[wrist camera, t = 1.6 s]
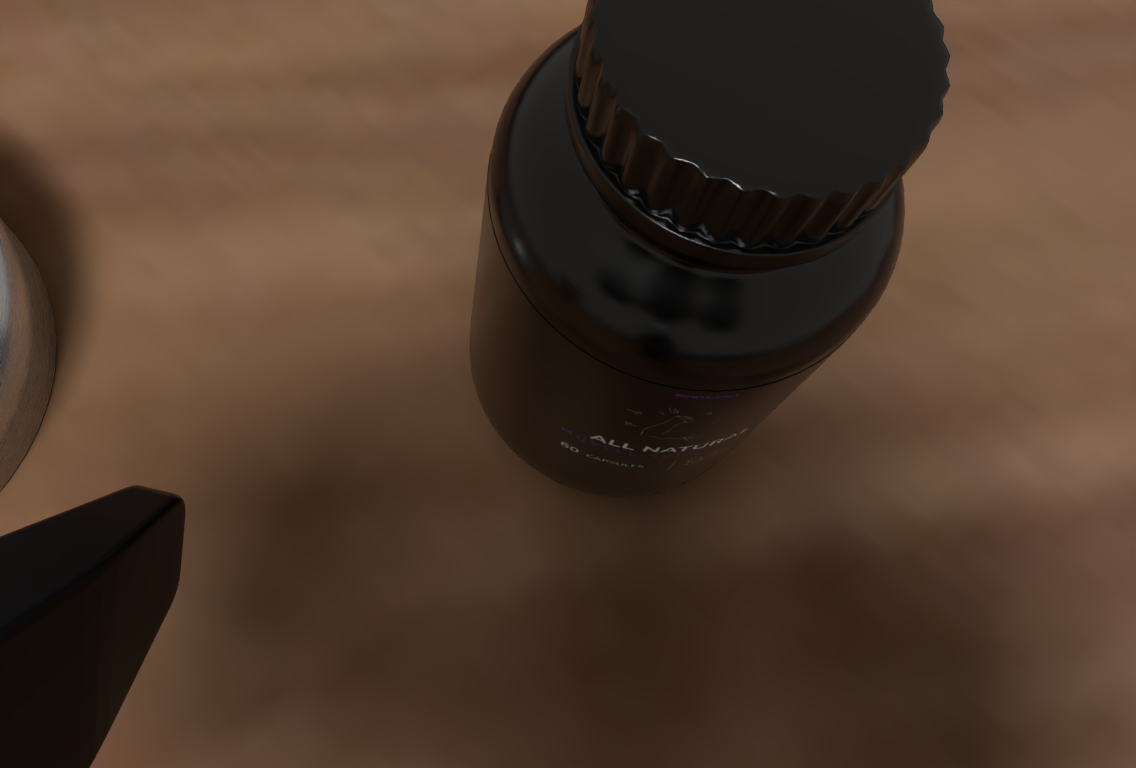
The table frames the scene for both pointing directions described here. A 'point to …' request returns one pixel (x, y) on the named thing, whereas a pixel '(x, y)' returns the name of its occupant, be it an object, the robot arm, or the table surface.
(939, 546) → the table surface
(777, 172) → the supplement bottle
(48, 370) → the grey short cylinder
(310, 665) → the table surface
